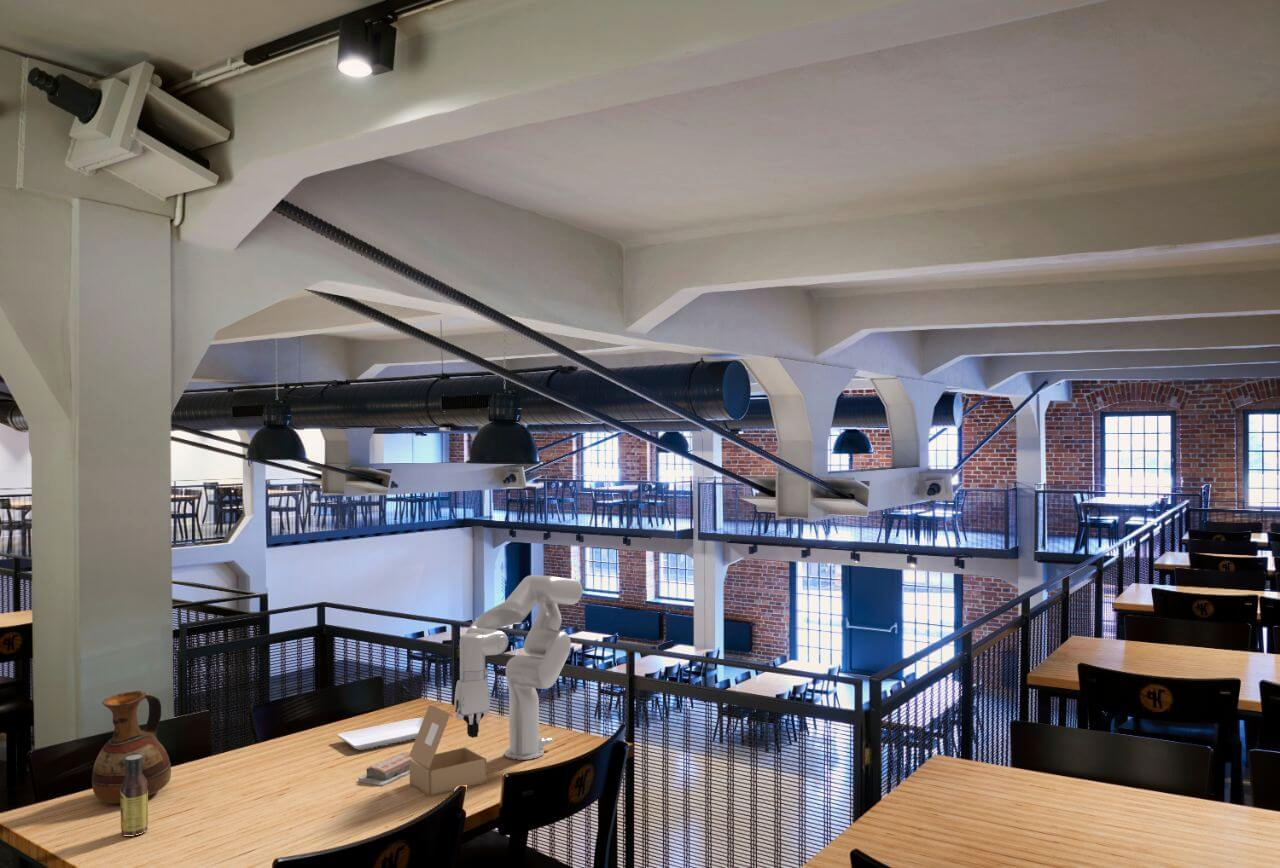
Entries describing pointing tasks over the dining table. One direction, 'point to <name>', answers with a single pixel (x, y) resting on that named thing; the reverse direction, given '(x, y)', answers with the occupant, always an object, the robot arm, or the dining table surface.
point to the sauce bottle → (134, 798)
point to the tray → (382, 734)
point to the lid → (429, 735)
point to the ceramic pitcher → (130, 747)
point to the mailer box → (448, 772)
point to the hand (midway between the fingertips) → (472, 736)
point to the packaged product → (388, 770)
